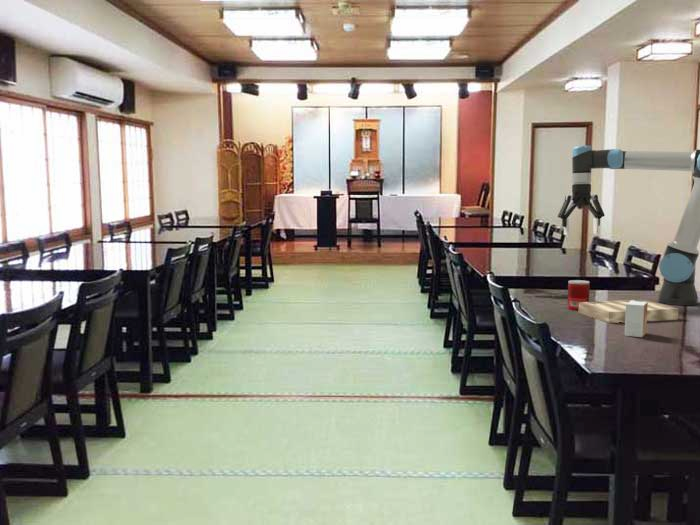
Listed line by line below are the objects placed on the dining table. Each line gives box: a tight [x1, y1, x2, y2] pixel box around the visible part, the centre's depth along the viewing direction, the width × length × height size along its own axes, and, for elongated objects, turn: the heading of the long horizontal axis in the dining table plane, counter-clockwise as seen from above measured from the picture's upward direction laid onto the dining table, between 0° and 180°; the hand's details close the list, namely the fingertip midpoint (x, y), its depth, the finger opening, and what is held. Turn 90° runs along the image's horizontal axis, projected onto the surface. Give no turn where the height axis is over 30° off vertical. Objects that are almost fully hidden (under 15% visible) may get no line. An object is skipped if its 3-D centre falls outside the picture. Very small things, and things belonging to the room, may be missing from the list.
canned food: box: [567, 279, 591, 312], centre depth 267 cm, size 8×8×11 cm
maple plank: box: [578, 299, 680, 324], centre depth 253 cm, size 28×20×4 cm
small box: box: [624, 301, 648, 338], centre depth 222 cm, size 8×6×10 cm
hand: (581, 234), depth 285 cm, fingers open, 13 cm apart
